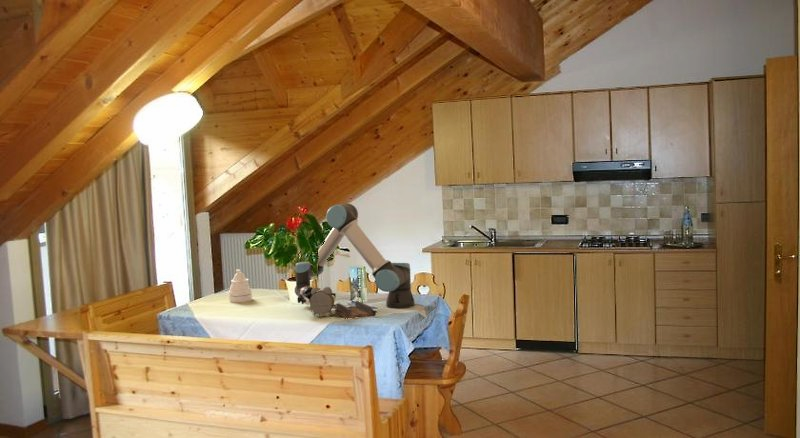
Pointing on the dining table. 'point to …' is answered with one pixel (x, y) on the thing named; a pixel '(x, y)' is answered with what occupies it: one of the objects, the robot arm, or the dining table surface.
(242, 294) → the honey pot
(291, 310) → the dining table surface
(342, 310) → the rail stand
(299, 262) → the robot arm
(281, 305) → the dining table surface
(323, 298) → the alarm clock
